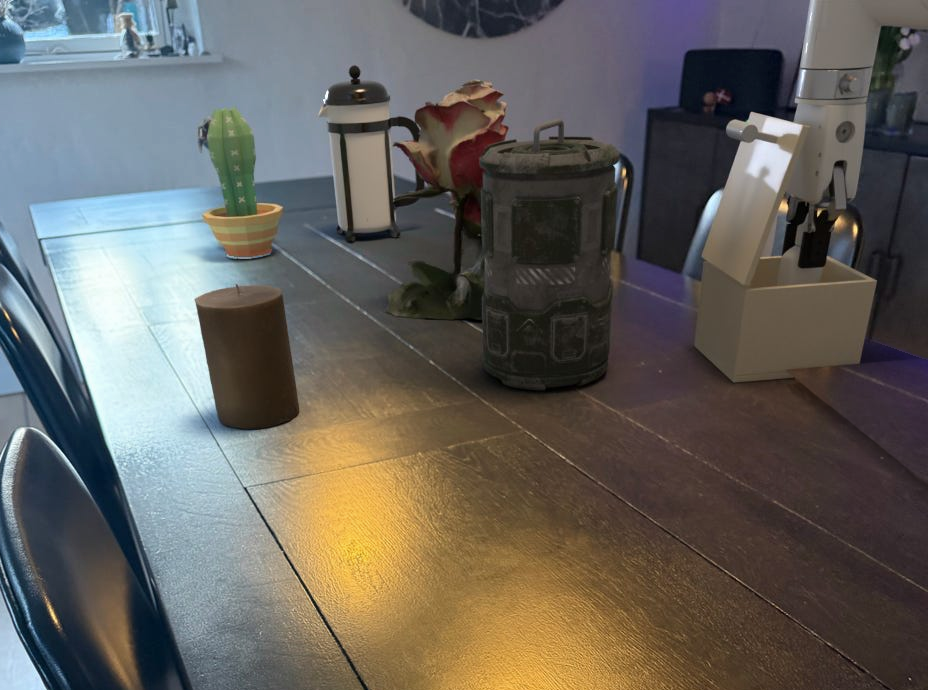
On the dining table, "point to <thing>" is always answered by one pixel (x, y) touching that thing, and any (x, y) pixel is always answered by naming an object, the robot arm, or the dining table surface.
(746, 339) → the beige open box
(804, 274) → the eye dropper bottle
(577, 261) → the canister
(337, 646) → the dining table surface
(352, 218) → the coffee press
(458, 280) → the red and cream rose
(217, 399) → the pillar candle
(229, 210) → the potted cactus
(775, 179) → the lid
